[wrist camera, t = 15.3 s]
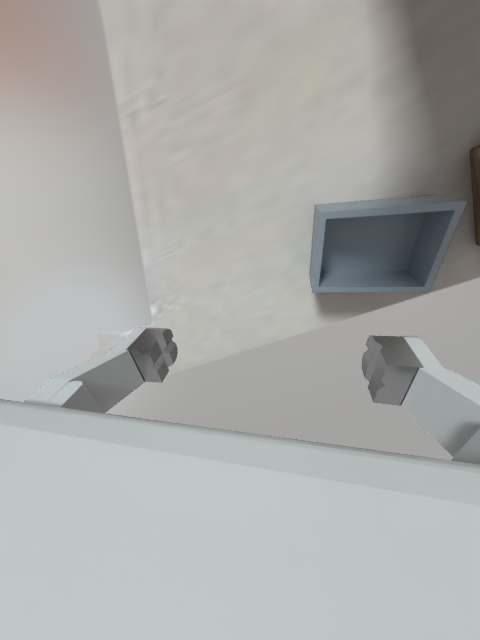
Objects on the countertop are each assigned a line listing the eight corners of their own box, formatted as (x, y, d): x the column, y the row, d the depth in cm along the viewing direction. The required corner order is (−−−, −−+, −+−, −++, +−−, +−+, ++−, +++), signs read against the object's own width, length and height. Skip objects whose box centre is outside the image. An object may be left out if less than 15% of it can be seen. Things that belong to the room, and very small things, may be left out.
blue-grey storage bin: (315, 204, 31) (319, 212, 26) (434, 194, 28) (467, 201, 23) (309, 274, 37) (312, 292, 32) (407, 273, 34) (429, 292, 29)
